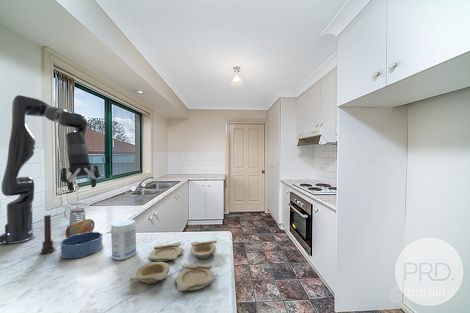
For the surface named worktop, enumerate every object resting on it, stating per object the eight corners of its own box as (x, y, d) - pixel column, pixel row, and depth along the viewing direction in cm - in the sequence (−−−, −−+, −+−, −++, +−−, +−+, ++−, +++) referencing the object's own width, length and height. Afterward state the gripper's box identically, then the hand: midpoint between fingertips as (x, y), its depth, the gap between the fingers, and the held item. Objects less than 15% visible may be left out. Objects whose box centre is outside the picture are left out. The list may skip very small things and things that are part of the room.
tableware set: (156, 246, 98) (156, 238, 98) (217, 245, 99) (217, 236, 99) (119, 298, 63) (119, 285, 63) (213, 294, 64) (213, 281, 64)
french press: (90, 223, 130) (89, 185, 130) (67, 229, 121) (67, 188, 120) (83, 221, 136) (82, 184, 135) (61, 226, 126) (61, 186, 126)
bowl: (56, 262, 83) (56, 248, 83) (65, 248, 97) (65, 235, 97) (100, 254, 91) (100, 240, 91) (103, 241, 104) (103, 229, 104)
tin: (69, 242, 102) (68, 226, 102) (64, 242, 103) (63, 225, 103) (95, 231, 117) (94, 217, 117) (90, 231, 118) (90, 216, 118)
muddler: (39, 254, 90) (39, 217, 90) (43, 250, 94) (42, 214, 94) (52, 252, 92) (52, 215, 92) (55, 248, 96) (55, 213, 96)
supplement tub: (136, 248, 96) (136, 217, 96) (136, 257, 87) (135, 224, 87) (112, 252, 92) (112, 220, 92) (110, 262, 83) (109, 227, 83)
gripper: (91, 155, 101) (96, 187, 100) (55, 156, 89) (60, 192, 88) (98, 152, 97) (103, 185, 96) (61, 153, 85) (67, 191, 84)
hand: (83, 189), depth 92 cm, fingers open, 8 cm apart
